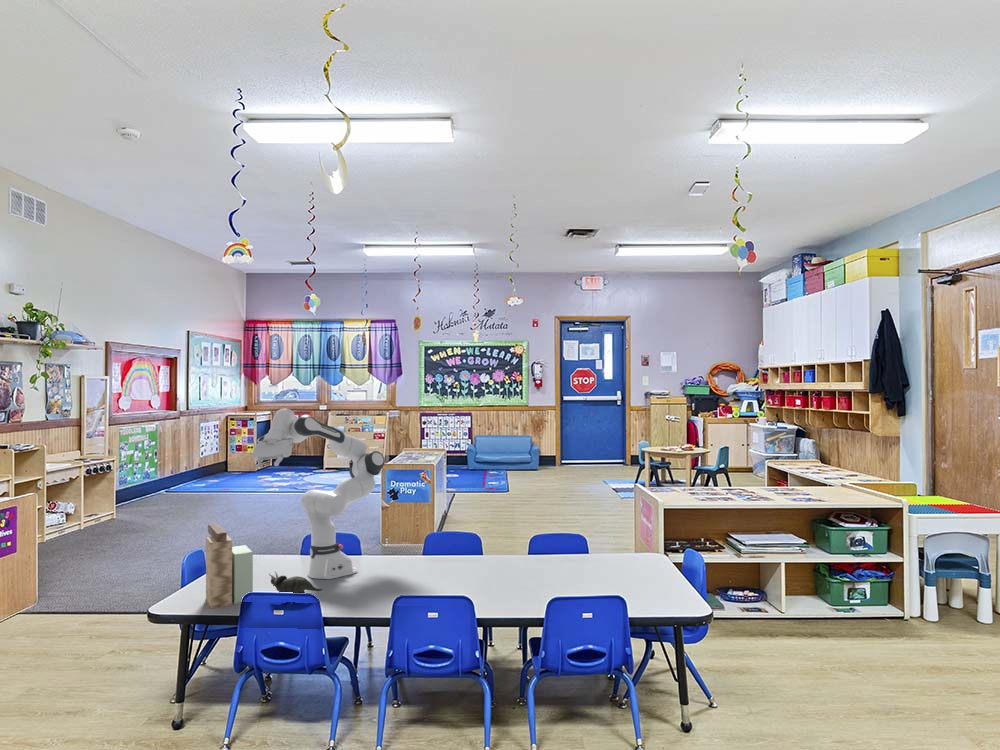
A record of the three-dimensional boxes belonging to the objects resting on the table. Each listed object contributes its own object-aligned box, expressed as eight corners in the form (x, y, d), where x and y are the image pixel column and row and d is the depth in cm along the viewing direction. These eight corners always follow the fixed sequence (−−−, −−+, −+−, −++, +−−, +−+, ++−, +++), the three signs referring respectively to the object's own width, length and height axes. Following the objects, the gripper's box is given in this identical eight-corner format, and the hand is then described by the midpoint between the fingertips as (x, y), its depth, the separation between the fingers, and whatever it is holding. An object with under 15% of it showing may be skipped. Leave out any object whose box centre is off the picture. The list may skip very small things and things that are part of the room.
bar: (216, 530, 277) (216, 522, 277) (226, 541, 259) (226, 532, 259) (207, 532, 275) (207, 523, 275) (217, 542, 257) (217, 533, 257)
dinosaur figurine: (323, 597, 268) (323, 570, 268) (317, 604, 260) (317, 576, 260) (270, 598, 268) (270, 570, 268) (263, 605, 260) (263, 577, 260)
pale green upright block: (245, 591, 277) (245, 544, 277) (253, 600, 265) (253, 552, 265) (227, 594, 273) (227, 547, 273) (234, 604, 261) (234, 554, 261)
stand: (227, 596, 270) (227, 534, 270) (232, 604, 260) (232, 540, 261) (205, 600, 265) (205, 537, 266) (210, 608, 256) (210, 542, 256)
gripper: (298, 440, 299) (290, 467, 291) (263, 445, 306) (254, 471, 299) (289, 433, 294) (281, 461, 287) (254, 439, 302) (245, 465, 294)
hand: (267, 466), depth 293 cm, fingers open, 8 cm apart
